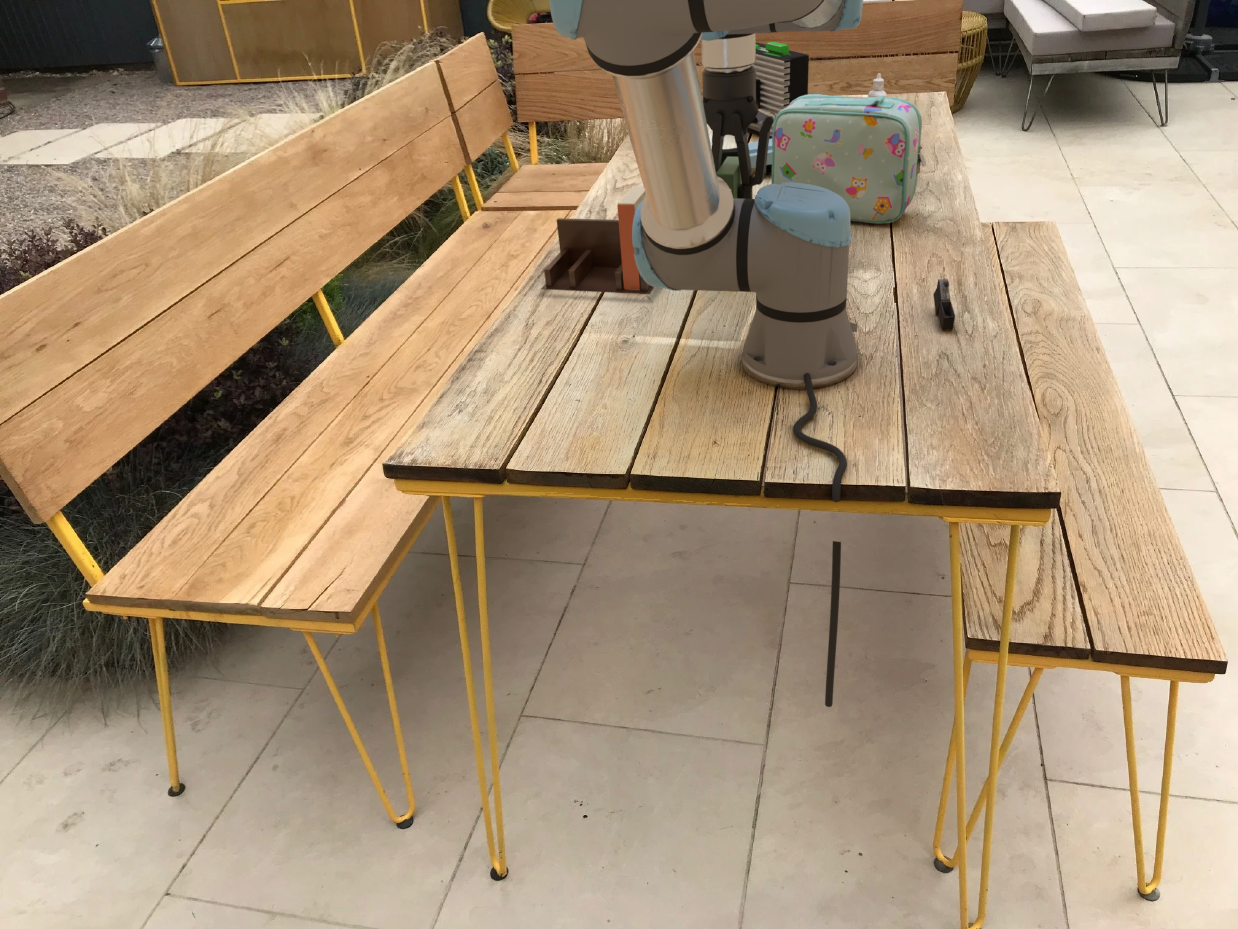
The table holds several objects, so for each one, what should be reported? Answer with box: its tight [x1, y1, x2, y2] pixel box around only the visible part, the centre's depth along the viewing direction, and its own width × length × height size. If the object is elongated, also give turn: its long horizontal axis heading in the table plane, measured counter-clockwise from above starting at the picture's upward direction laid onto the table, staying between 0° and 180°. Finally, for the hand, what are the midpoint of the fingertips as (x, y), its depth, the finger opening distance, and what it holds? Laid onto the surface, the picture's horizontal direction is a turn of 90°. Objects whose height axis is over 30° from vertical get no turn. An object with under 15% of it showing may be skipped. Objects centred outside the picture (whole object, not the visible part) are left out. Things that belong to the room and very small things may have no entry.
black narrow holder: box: [932, 278, 956, 331], centre depth 135 cm, size 8×2×5 cm
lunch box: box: [771, 93, 927, 224], centre depth 170 cm, size 27×10×21 cm, turn 59°
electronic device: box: [747, 41, 810, 139], centre depth 224 cm, size 28×11×20 cm, turn 25°
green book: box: [716, 157, 742, 199], centre depth 145 cm, size 9×3×14 cm, turn 163°
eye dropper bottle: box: [867, 72, 888, 97], centre depth 220 cm, size 4×6×12 cm
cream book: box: [616, 185, 646, 290], centre depth 151 cm, size 9×3×14 cm, turn 163°
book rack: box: [540, 217, 655, 295], centre depth 154 cm, size 11×18×9 cm, turn 73°
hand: (731, 228), depth 146 cm, fingers closed on green book, 3 cm apart
